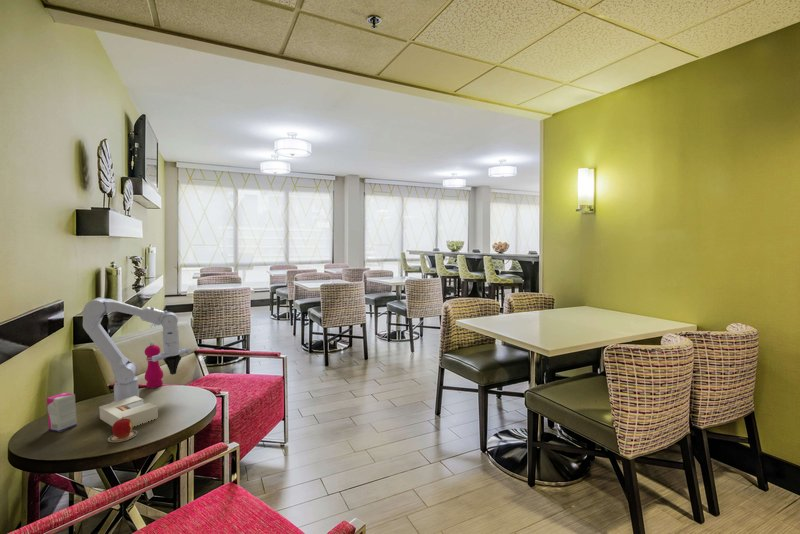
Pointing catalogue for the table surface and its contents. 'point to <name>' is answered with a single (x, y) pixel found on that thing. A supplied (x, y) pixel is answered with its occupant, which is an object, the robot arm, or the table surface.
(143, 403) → the plug
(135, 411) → the socket housing
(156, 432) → the table surface
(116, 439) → the red rounded piece
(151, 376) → the pepper mill
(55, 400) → the supplement box
